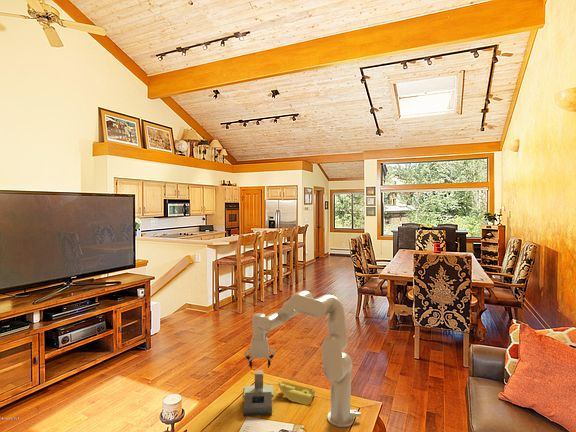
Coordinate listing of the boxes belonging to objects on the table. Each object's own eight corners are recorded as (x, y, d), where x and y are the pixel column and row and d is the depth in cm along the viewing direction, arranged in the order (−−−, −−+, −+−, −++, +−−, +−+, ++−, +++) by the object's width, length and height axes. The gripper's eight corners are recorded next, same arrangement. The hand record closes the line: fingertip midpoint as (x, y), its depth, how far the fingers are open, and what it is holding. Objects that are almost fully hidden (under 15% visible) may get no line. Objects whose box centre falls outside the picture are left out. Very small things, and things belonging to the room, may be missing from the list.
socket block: (271, 399, 176) (271, 391, 176) (272, 415, 162) (272, 407, 162) (245, 400, 175) (245, 392, 175) (243, 416, 161) (243, 408, 161)
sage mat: (272, 386, 189) (272, 384, 189) (273, 396, 179) (273, 394, 179) (244, 387, 188) (244, 385, 188) (243, 397, 178) (243, 395, 178)
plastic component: (316, 389, 182) (313, 390, 173) (313, 404, 179) (310, 406, 170) (282, 381, 188) (277, 381, 179) (279, 395, 185) (274, 396, 176)
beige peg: (263, 387, 186) (263, 370, 186) (263, 392, 181) (263, 373, 181) (254, 387, 186) (255, 370, 186) (254, 392, 181) (254, 374, 181)
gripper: (274, 333, 188) (275, 363, 187) (244, 334, 186) (244, 364, 186) (275, 337, 180) (275, 369, 180) (243, 339, 179) (243, 371, 179)
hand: (259, 367), depth 183 cm, fingers open, 9 cm apart
